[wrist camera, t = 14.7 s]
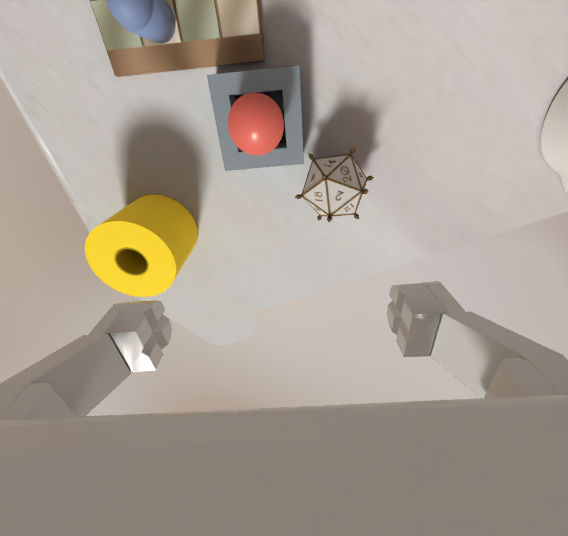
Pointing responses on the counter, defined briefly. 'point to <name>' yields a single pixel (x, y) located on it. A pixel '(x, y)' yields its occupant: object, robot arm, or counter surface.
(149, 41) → the track board
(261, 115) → the plunger
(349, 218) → the counter surface
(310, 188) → the game die
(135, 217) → the yellow hollow cylinder
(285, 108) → the base
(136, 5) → the pawn
